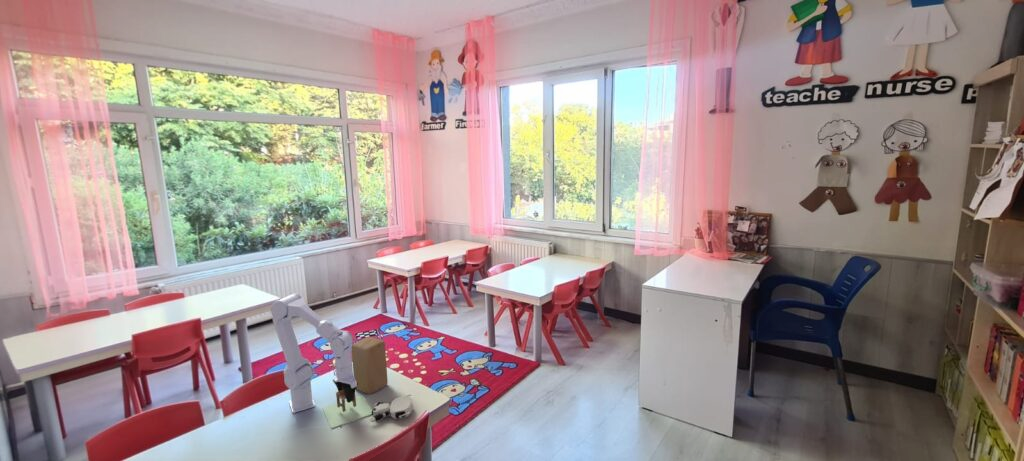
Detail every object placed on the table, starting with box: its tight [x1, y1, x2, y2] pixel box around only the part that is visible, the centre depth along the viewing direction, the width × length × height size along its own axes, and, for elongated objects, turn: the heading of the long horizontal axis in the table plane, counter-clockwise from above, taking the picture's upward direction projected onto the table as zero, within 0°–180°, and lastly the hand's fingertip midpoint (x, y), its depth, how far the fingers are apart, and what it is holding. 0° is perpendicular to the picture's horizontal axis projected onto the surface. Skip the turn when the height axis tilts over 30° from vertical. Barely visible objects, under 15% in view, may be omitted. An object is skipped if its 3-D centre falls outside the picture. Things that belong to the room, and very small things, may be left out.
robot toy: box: [369, 393, 414, 423], centre depth 157 cm, size 12×4×15 cm
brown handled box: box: [335, 390, 357, 412], centre depth 159 cm, size 5×5×6 cm
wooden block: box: [350, 336, 388, 395], centre depth 175 cm, size 10×10×20 cm
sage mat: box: [322, 394, 373, 430], centre depth 160 cm, size 15×15×1 cm
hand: (346, 398), depth 159 cm, fingers closed on brown handled box, 5 cm apart
